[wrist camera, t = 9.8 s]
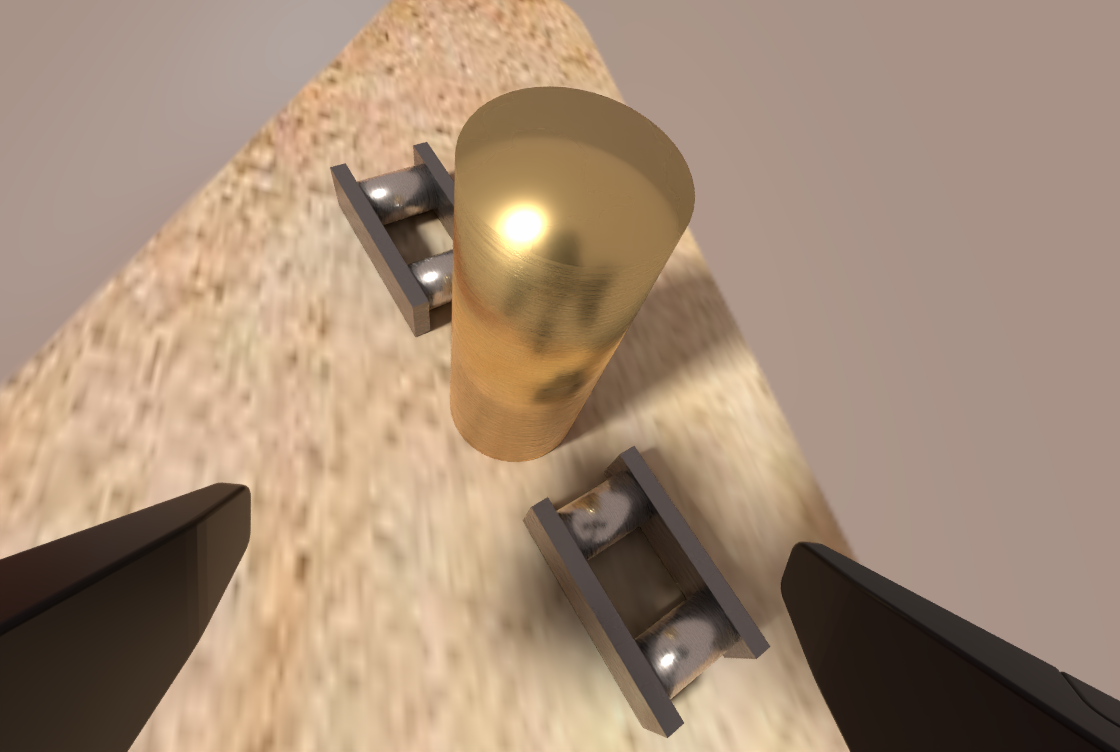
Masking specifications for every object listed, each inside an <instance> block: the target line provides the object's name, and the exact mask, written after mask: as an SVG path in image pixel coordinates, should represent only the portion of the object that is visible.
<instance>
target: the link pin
mask: <svg viewBox="0 0 1120 752" xmlns="http://www.w3.org/2000/svg"><path fill="white" fill-rule="evenodd" d="M694 202H695V192H694V184H693V180H692V176H691V173H690V171H689V168H688V165H687V164H686V161H685V160H684V158H683V156H682V154H681V153H680V151H679V150H678V148H677V147H676V146H675V144H674V143H673V142H672V141H671V140H670V138H669V137H668V136H667V135H666V134H665V133H664V132H663V131H662V130H661V129H659V128H658V127H657V126H656V125H655V124H654V123H652V122H651V121H650V120H649V119H647V118H646V117H644V116H643V115H641V114H640V113H638V112H637V111H635V110H633V109H632V108H630V107H628V106H626V105H624V104H622V103H620V102H617V101H615V100H613V99H610V98H608V97H605V96H602V95H599V94H596V93H592V92H588V91H584V90H579V89H573V88H566V87H534V88H526V89H521V90H517V91H513V92H509V93H507V94H504V95H501V96H499V97H497V98H495V99H493V100H491V101H489V102H487V103H486V104H485V105H483V106H482V107H480V108H479V109H478V110H477V111H476V112H475V113H474V114H473V115H472V116H471V117H470V118H469V119H468V121H467V122H466V124H465V125H464V126H463V128H462V131H461V133H460V135H459V137H458V141H457V145H456V151H455V185H454V234H453V282H452V331H451V380H450V408H451V414H452V418H453V421H454V423H455V426H456V428H457V429H458V431H459V433H460V434H461V435H462V437H463V438H464V439H465V440H466V441H467V442H468V443H469V444H470V445H471V446H472V447H473V448H475V449H476V450H477V451H479V452H481V453H482V454H484V455H486V456H489V457H491V458H494V459H498V460H501V461H509V462H521V461H528V460H532V459H536V458H538V457H541V456H543V455H545V454H547V453H549V452H550V451H551V450H553V449H554V448H555V447H557V446H558V445H559V444H560V443H561V442H562V440H563V439H564V438H565V436H566V435H567V433H568V431H569V430H570V428H571V426H572V425H573V423H574V421H575V419H576V418H577V416H578V414H579V412H580V411H581V409H582V407H583V406H584V404H585V402H586V400H587V399H588V397H589V395H590V393H591V392H592V390H593V388H594V387H595V385H596V383H597V381H598V380H599V378H600V376H601V374H602V373H603V371H604V369H605V368H606V366H607V364H608V362H609V361H610V359H611V357H612V355H613V354H614V352H615V350H616V349H617V347H618V345H619V343H620V342H621V340H622V338H623V337H624V335H625V333H626V331H627V330H628V328H629V326H630V324H631V323H632V321H633V319H634V318H635V316H636V314H637V312H638V311H639V309H640V307H641V305H642V304H643V302H644V300H645V299H646V297H647V295H648V293H649V292H650V290H651V288H652V286H653V285H654V283H655V281H656V280H657V278H658V276H659V274H660V273H661V271H662V269H663V267H664V266H665V264H666V262H667V261H668V259H669V257H670V255H671V254H672V252H673V250H674V248H675V247H676V245H677V243H678V242H679V240H680V238H681V236H682V235H683V233H684V231H685V229H686V228H687V226H688V224H689V222H690V219H691V216H692V213H693V210H694Z"/></svg>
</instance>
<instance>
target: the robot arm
mask: <svg viewBox="0 0 1120 752" xmlns="http://www.w3.org/2000/svg"><path fill="white" fill-rule="evenodd" d="M250 531H251V493H250V490H249V488H248V487H247V486H246V485H241V484H231V483H216V484H213V485H210V486H207V487H205V488H202V489H199V490H196V491H193V492H190V493H188V494H185V495H182V496H179V497H176V498H173V499H171V500H168V501H165V502H162V503H159V504H156V505H154V506H151V507H148V508H145V509H142V510H139V511H137V512H134V513H131V514H128V515H125V516H122V517H120V518H117V519H114V520H111V521H108V522H105V523H103V524H100V525H97V526H94V527H91V528H88V529H85V530H83V531H80V532H77V533H74V534H71V535H68V536H66V537H63V538H60V539H57V540H54V541H51V542H49V543H46V544H43V545H40V546H37V547H34V548H32V549H29V550H26V551H23V552H20V553H17V554H15V555H12V556H9V557H6V558H3V559H0V752H128V750H129V749H130V747H131V745H132V744H133V742H134V741H135V739H136V738H137V736H138V735H139V733H140V732H141V730H142V729H143V727H144V726H145V724H146V722H147V721H148V719H149V718H150V716H151V715H152V713H153V712H154V710H155V709H156V707H157V706H158V704H159V703H160V701H161V699H162V698H163V696H164V695H165V693H166V692H167V690H168V689H169V687H170V686H171V684H172V683H173V681H174V679H175V678H176V676H177V675H178V673H179V672H180V670H181V669H182V667H183V666H184V664H185V663H186V661H187V660H188V658H189V656H190V655H191V653H192V652H193V650H194V648H195V647H196V645H197V643H198V642H199V640H200V638H201V637H202V635H203V633H204V631H205V629H206V627H207V625H208V624H209V622H210V620H211V618H212V616H213V614H214V612H215V610H216V608H217V606H218V604H219V602H220V600H221V598H222V596H223V594H224V592H225V590H226V588H227V586H228V584H229V582H230V580H231V578H232V576H233V574H234V572H235V570H236V568H237V566H238V564H239V562H240V561H241V559H242V557H243V555H244V553H245V551H246V548H247V546H248V543H249V539H250ZM781 593H782V597H783V600H784V602H785V605H786V607H787V610H788V613H789V615H790V618H791V620H792V623H793V625H794V628H795V631H796V633H797V636H798V638H799V641H800V644H801V646H802V649H803V651H804V654H805V656H806V659H807V662H808V664H809V667H810V669H811V672H812V674H813V676H814V679H815V681H816V683H817V685H818V687H819V690H820V692H821V694H822V696H823V698H824V700H825V702H826V704H827V706H828V708H829V710H830V712H831V714H832V716H833V718H834V720H835V722H836V724H837V726H838V728H839V730H840V732H841V734H842V736H843V738H844V740H845V742H846V744H847V746H848V748H849V750H850V752H1120V701H1119V700H1117V699H1114V698H1113V697H1111V696H1109V695H1107V694H1105V693H1103V692H1101V691H1099V690H1097V689H1095V688H1094V687H1092V686H1090V685H1088V684H1086V683H1084V682H1082V681H1080V680H1078V679H1077V678H1074V677H1073V676H1071V675H1069V674H1067V673H1065V672H1059V670H1058V669H1057V668H1056V667H1053V666H1052V665H1050V664H1048V663H1046V662H1044V661H1042V660H1040V659H1039V658H1037V657H1035V656H1033V655H1031V654H1029V653H1027V652H1025V651H1023V650H1022V649H1020V648H1018V647H1016V646H1014V645H1012V644H1010V643H1008V642H1006V641H1004V640H1003V639H1001V638H999V637H997V636H995V635H993V634H991V633H989V632H987V631H986V630H984V629H982V628H980V627H978V626H976V625H974V624H972V623H970V622H969V621H967V620H965V619H963V618H961V617H959V616H957V615H955V614H953V613H951V612H950V611H948V610H946V609H944V608H942V607H940V606H938V605H936V604H934V603H933V602H931V601H929V600H927V599H925V598H923V597H921V596H919V595H917V594H915V593H914V592H911V591H910V590H908V589H906V588H904V587H902V586H900V585H898V584H896V583H894V582H893V581H891V580H889V579H887V578H885V577H883V576H881V575H879V574H878V573H876V572H874V571H872V570H870V569H868V568H866V567H864V566H862V565H860V564H859V563H857V562H855V561H853V560H851V559H849V558H847V557H845V556H843V555H842V554H840V553H838V552H836V551H834V550H832V549H830V548H828V547H826V546H824V545H822V544H819V543H811V542H798V543H796V544H795V545H794V547H793V548H792V551H791V554H790V557H789V560H788V562H787V565H786V568H785V571H784V574H783V577H782V580H781Z"/></svg>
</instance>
